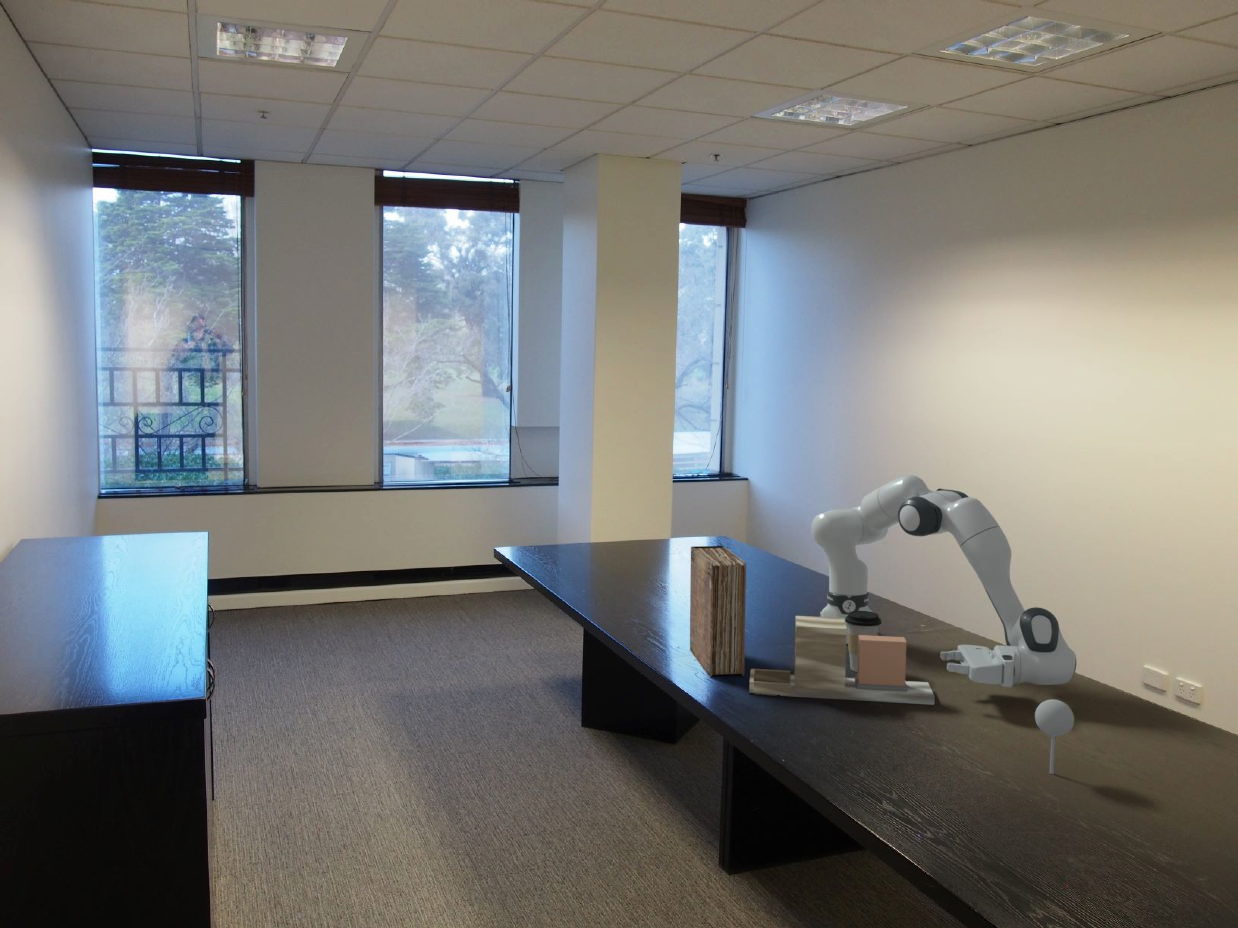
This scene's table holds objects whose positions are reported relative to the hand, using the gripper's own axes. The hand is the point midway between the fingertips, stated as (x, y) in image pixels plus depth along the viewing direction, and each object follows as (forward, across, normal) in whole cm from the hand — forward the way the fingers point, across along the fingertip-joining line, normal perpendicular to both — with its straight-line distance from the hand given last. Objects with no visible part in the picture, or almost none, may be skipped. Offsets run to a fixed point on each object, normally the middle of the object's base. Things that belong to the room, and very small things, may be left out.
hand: (943, 661), depth 240 cm
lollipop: (-14, +43, +10) cm, 46 cm away
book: (+57, -19, +9) cm, 60 cm away
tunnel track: (+25, 0, +9) cm, 26 cm away
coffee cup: (+18, -20, +9) cm, 29 cm away
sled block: (+15, 0, +7) cm, 16 cm away
